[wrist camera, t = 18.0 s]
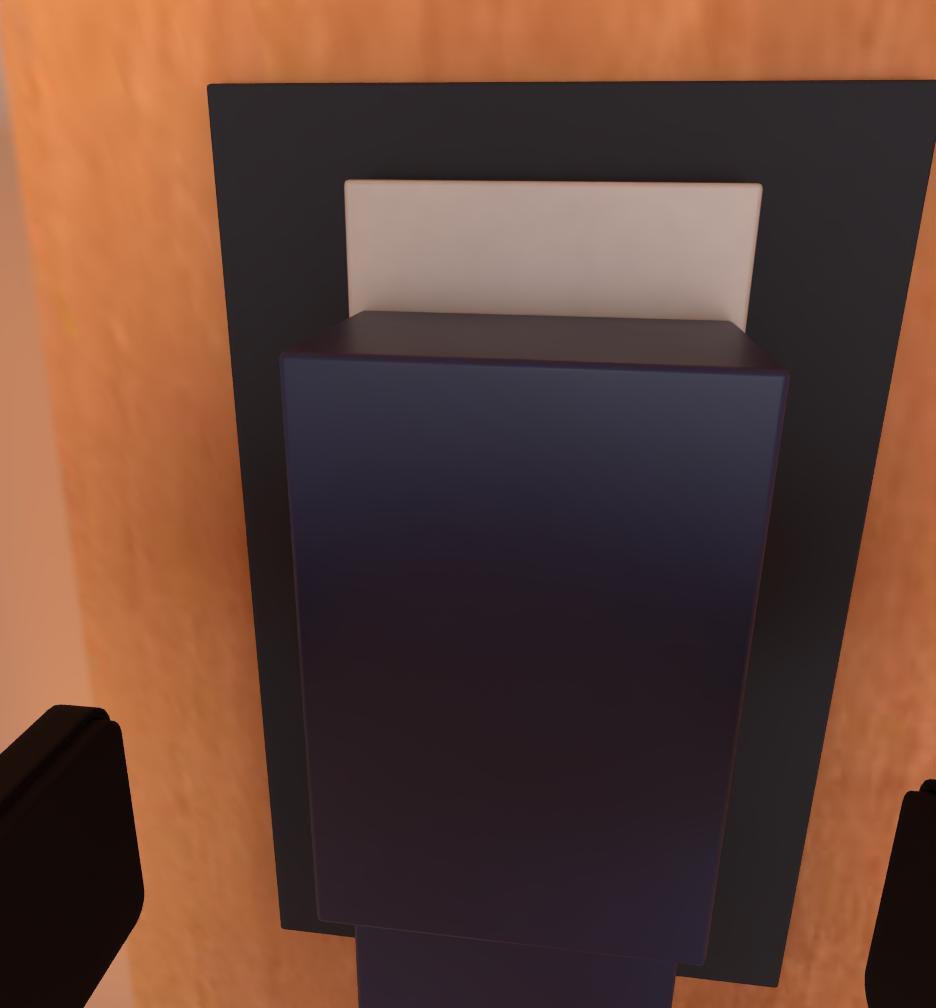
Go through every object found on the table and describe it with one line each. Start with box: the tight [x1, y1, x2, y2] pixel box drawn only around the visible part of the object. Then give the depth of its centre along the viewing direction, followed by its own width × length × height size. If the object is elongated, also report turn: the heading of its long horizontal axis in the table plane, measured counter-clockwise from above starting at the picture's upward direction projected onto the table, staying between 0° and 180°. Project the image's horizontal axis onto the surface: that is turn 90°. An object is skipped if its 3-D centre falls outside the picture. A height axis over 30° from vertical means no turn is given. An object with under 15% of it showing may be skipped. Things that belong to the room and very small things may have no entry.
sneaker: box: [279, 179, 790, 1008], centre depth 14 cm, size 16×6×6 cm, turn 179°
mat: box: [207, 80, 936, 987], centre depth 17 cm, size 19×12×1 cm, turn 179°
